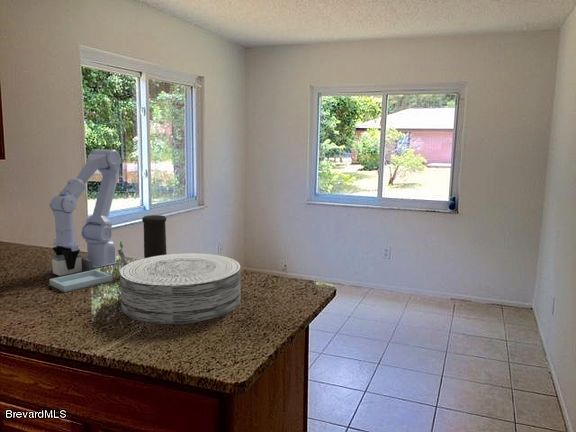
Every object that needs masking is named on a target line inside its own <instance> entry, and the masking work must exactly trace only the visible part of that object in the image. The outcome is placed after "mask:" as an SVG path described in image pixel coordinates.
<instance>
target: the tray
mask: <svg viewBox="0 0 576 432" xmlns="http://www.w3.org/2000/svg"><path fill="white" fill-rule="evenodd" d="M110 282H111V283H112V282H113V275H112V274H109V273H107V272H104V271H102V270H99V269H92V270H91V271H86V272H82V271H80V272H76V273H71V274H66V275H61V276H58V277H54V278H49V282H48V283H49V286H51V287H53V288H55V289H57V290H58V291H61V292H64V293H68V292H72V291H77V290H81V289H85V288H91V287H94V286H99V285H103V284H107V283H110Z"/></svg>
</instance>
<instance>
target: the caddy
mask: <svg viewBox="0 0 576 432" xmlns="http://www.w3.org/2000/svg"><path fill="white" fill-rule="evenodd" d="M81 257H82V254H80V253H79V254H78V256H77V258H76V263H75V268H74V269H70V270H68V269H67V266H66V261H65V257H64V255H52V256H51V264H52V269H53V273H52V274H54V275H57V276H58V277H62V276H67V275H72V274H76V273H81V272H82V261H81Z"/></svg>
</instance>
